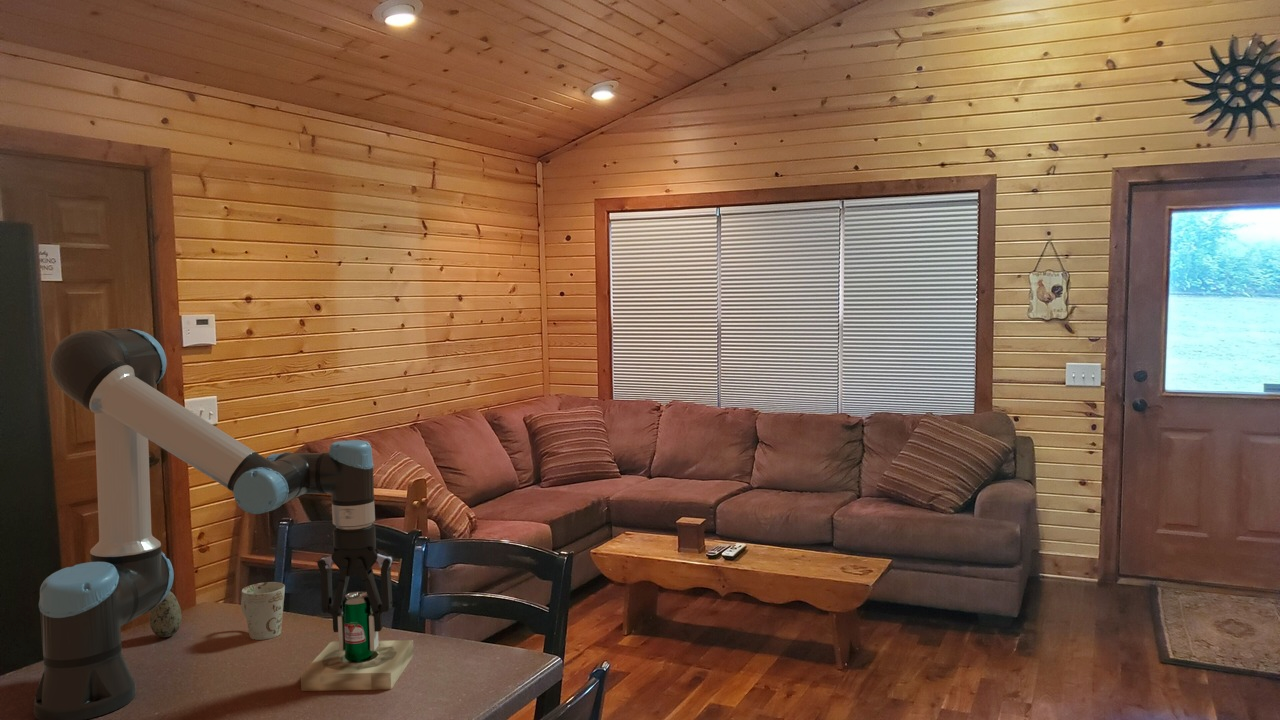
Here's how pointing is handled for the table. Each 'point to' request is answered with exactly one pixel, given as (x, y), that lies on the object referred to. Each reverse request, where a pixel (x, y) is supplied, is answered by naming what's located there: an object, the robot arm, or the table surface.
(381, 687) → the hub block
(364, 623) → the soda can
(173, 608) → the decorative egg
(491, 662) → the table surface
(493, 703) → the table surface
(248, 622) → the mug
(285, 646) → the table surface
